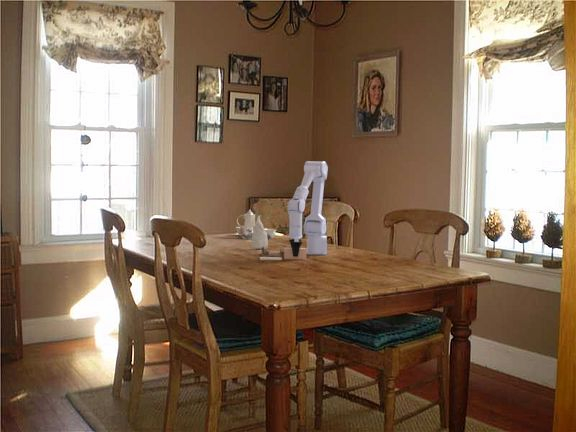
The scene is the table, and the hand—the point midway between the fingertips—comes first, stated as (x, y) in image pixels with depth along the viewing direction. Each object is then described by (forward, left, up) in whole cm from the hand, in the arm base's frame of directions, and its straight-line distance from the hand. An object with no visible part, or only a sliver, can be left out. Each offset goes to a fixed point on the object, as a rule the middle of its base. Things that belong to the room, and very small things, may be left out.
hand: (295, 255), depth 314 cm
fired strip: (+11, +2, -2) cm, 11 cm away
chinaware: (+18, -74, -2) cm, 76 cm away
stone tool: (+16, -29, -2) cm, 33 cm away
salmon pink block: (0, 0, -2) cm, 2 cm away
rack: (+9, -8, -1) cm, 12 cm away
